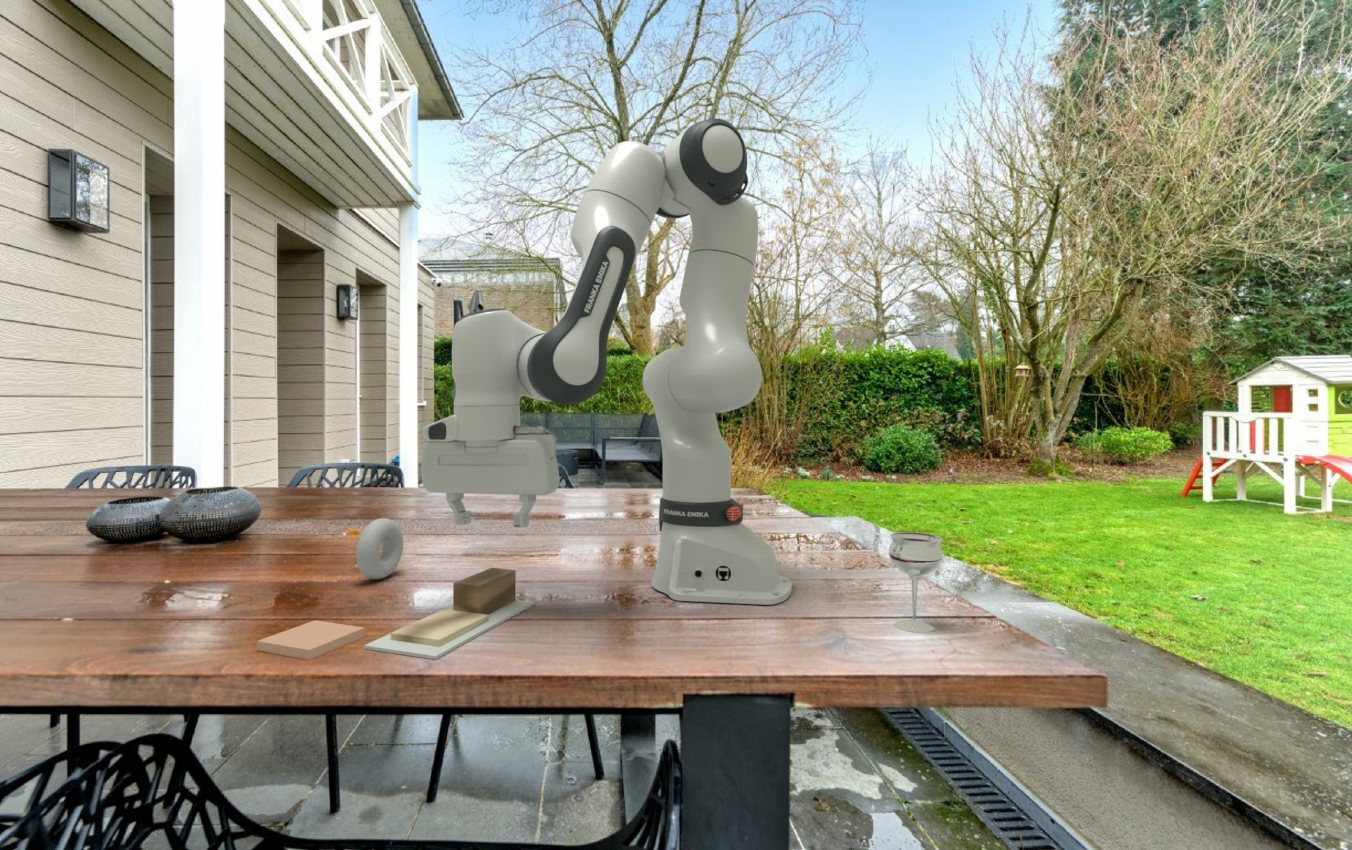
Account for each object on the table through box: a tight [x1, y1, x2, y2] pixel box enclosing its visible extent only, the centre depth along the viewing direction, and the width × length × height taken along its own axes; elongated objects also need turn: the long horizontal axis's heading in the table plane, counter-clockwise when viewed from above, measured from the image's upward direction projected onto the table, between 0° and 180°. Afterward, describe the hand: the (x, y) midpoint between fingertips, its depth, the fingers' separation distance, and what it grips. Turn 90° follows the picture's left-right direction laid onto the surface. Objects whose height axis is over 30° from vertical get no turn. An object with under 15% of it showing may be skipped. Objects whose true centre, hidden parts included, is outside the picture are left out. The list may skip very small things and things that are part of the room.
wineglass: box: [888, 531, 944, 633], centre depth 88 cm, size 7×7×12 cm
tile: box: [256, 619, 366, 661], centre depth 79 cm, size 8×2×8 cm
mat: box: [363, 599, 536, 661], centre depth 86 cm, size 10×22×1 cm, turn 162°
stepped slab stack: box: [390, 567, 517, 647], centre depth 87 cm, size 7×19×4 cm, turn 162°
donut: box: [355, 517, 404, 580], centre depth 108 cm, size 10×4×10 cm, turn 170°
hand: (491, 525), depth 92 cm, fingers open, 8 cm apart
